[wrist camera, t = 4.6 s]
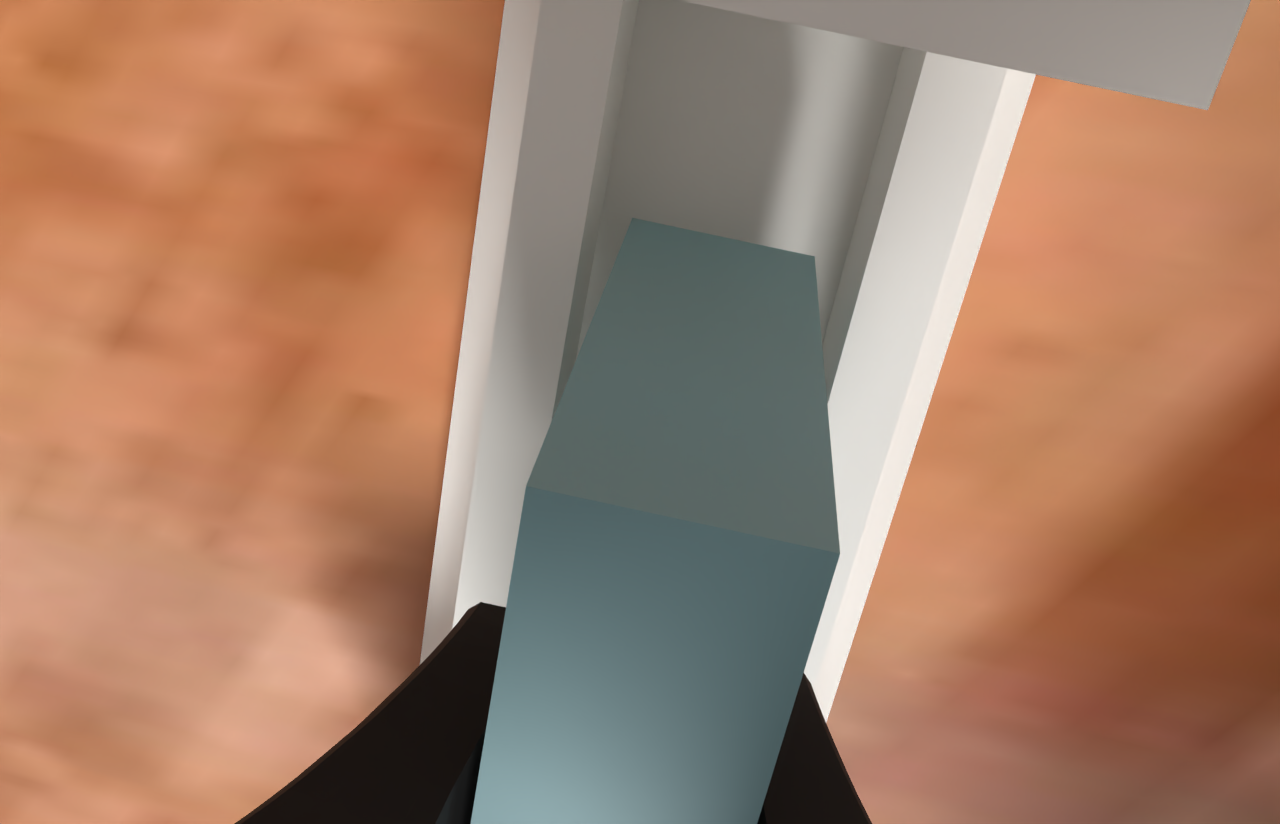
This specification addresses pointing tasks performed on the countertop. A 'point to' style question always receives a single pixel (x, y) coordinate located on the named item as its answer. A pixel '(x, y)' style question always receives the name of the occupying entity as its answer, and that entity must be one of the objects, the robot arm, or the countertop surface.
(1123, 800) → the countertop surface
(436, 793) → the robot arm
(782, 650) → the rectangular block
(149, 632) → the countertop surface
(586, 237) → the track
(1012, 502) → the countertop surface
